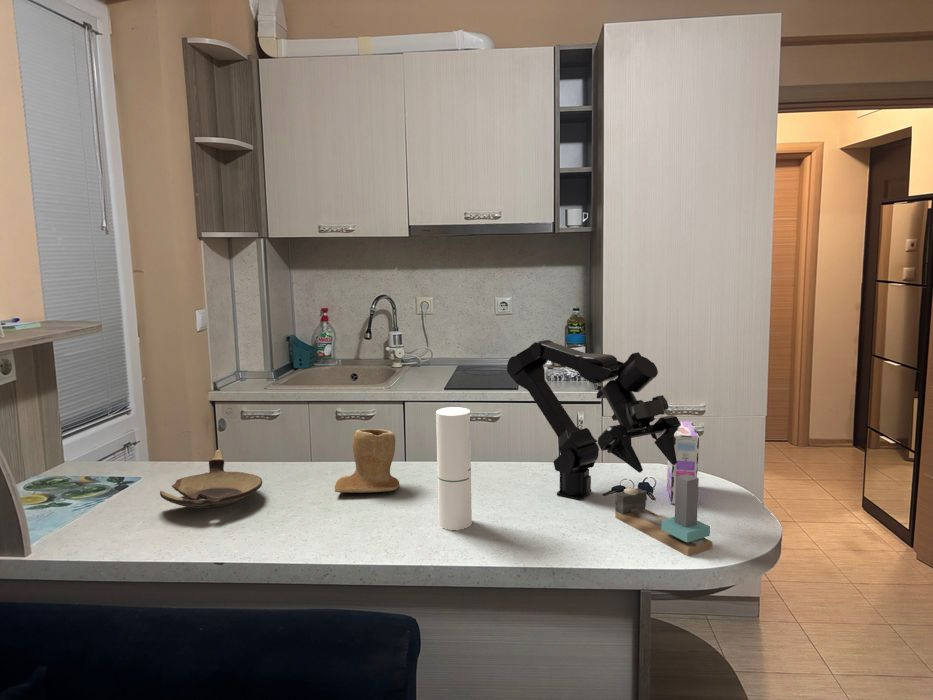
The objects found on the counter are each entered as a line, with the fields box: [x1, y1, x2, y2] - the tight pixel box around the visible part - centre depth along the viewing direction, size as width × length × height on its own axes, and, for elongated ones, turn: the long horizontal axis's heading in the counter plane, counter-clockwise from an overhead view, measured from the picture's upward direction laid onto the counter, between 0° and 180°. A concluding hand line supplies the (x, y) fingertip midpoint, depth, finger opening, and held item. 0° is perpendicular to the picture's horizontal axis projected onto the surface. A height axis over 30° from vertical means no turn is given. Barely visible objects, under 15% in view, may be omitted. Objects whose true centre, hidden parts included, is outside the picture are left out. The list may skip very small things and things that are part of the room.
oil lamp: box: [159, 449, 263, 509], centre depth 170 cm, size 22×30×8 cm
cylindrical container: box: [435, 406, 473, 531], centre depth 152 cm, size 7×7×25 cm
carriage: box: [661, 474, 711, 542], centre depth 141 cm, size 7×6×12 cm
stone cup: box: [334, 428, 400, 494], centre depth 174 cm, size 15×12×15 cm
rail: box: [614, 487, 713, 557], centre depth 147 cm, size 22×6×6 cm, turn 28°
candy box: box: [666, 420, 700, 505], centre depth 167 cm, size 14×6×16 cm, turn 168°
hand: (658, 467), depth 147 cm, fingers open, 9 cm apart
